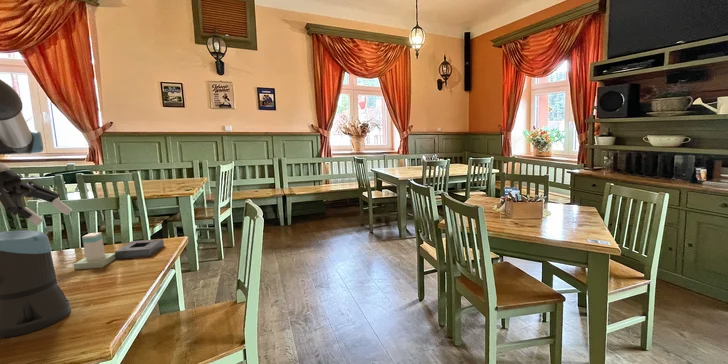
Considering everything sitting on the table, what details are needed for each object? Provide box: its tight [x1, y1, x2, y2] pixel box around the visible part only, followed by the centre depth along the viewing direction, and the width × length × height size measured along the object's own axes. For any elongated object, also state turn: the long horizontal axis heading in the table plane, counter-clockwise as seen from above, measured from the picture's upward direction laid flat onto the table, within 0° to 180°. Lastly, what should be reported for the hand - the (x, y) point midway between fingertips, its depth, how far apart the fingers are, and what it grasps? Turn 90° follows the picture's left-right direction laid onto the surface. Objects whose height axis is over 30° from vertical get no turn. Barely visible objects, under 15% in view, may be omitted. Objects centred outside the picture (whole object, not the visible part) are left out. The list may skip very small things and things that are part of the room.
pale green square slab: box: [73, 252, 117, 270], centre depth 125 cm, size 9×9×2 cm
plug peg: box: [81, 232, 106, 261], centre depth 124 cm, size 4×4×11 cm
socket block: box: [114, 238, 165, 260], centre depth 135 cm, size 12×12×3 cm
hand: (55, 217), depth 121 cm, fingers open, 13 cm apart
